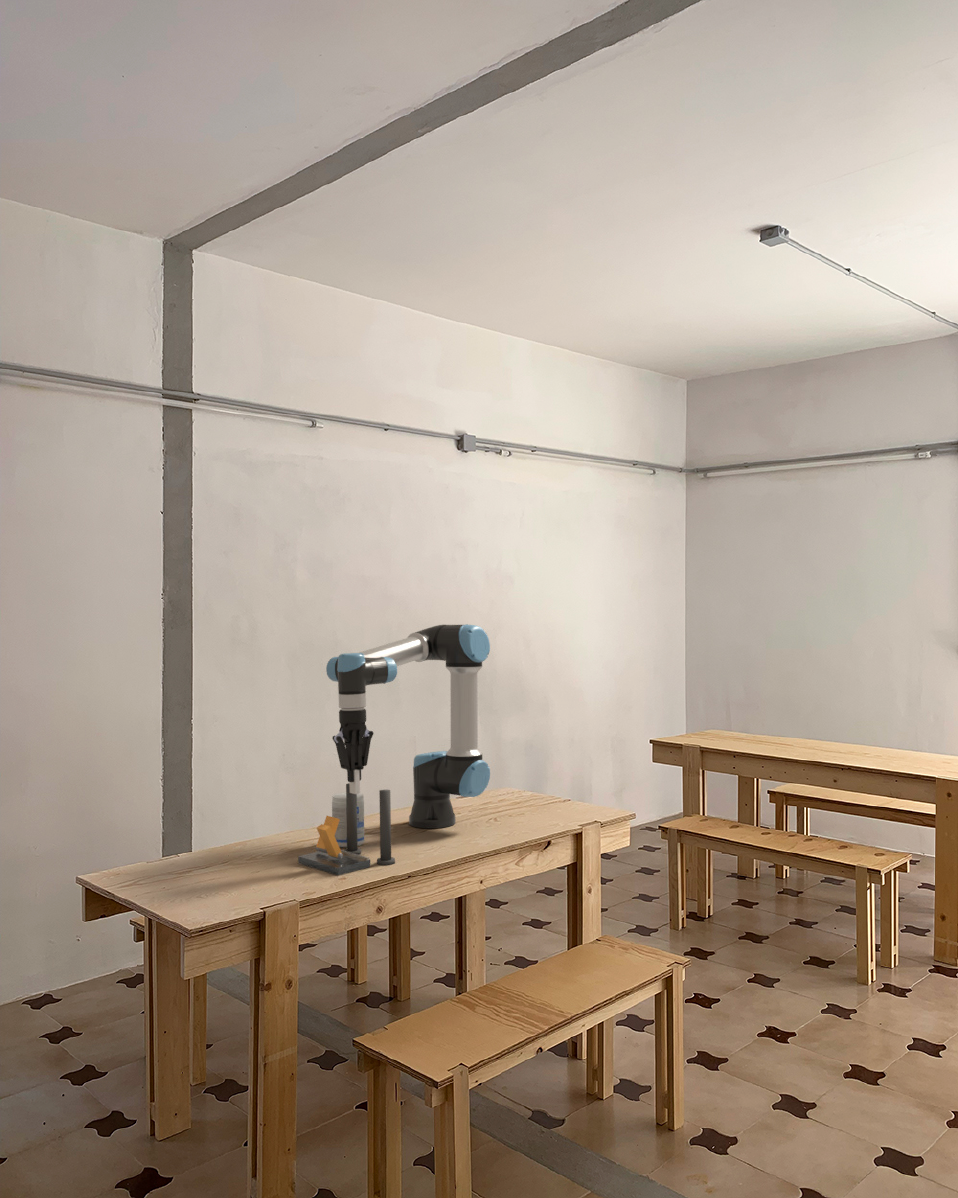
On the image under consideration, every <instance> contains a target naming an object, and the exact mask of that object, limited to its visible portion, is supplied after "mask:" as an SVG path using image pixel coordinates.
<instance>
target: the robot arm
mask: <svg viewBox="0 0 958 1198" xmlns="http://www.w3.org/2000/svg"><path fill="white" fill-rule="evenodd" d="M490 651H491V644H490V639H489V636H488V634H487V633H486V632H485V630H484V629H483V627H481V626H479V625H475V624H468V623H467V624H438V625H434V626H431V627H430V626H429V627H428V628H424V629H422V630H418V631H416V632H411V633H410V634H409V635H408V636H407V637H406V638H402V639H400V640H396V641H393V642H390V643H386V644H384V645H379V646H375V647H373V648H369V649H366V650H363V651H360V652H349V653H347V652H346V653H340V654H339V655H338V656H333V657H332V658H330V659H329V660H328V661H327V663H326V671H325V672H326V675H327V677H328V679H329V680H331V681H332V682H336V683H337V682H338V683H337V686H338V688H337V689H338V707H339V711H338V722H339V724H340V727H339V732H338V733H337V734H336V735H333V736H332V741H333V743H334V744H335V747H336V752H337V755H338V759H339V764H340V765H339V766H340V768H341V769H343V770H346V772H347V773H346V774H347V775H346V776H347V777H346V778H347V779H346V780H347V782H348V783H349V784H350V793H353V794H359V793H360V794H361V787H360V785H361V783H360V782H361V780H362V770H364V767H366V766H367V765H368V759H369V754H370V749H371V740H372V738H373V736H374V735H375V733H374V731H372V730H369V729H368V728H367V725H366V722H367V709H366V706H367V697H366V694H367V693H366V692H367V691H366V689H367V688H366V686H371V685H380V684H381V685H385V684H387V683H391V682H393V681H394V680H395V679H396V677H397V676H398V667H399V666H402V665H405V664H408V663H411V662H416V663H417V662H418V663H421V662H425V661H442V662H443V661H445V669H446V670H448V671H449V673H450V748H449V749H448V751H447V750H443V751H442V750H441V751H432V752H431V751H430V752H423V753H420V754H417V755H415V757H413V767H412V770H413V773H412V774H413V804H412V807H411V811H410V814H409V816H408V824H409V826H410V827H413V828H418V829H441V828H447V827H452V826H453V825H455V824H456V823H457V822H456V814H455V813H454V812H455V811H454V808H453V806H452V805H453V804H452V803H451V797H450V795H454V796H458V797H459V796H461V797H464V798H475V797H479V796H481V794H483V793H484V792H485V791H486V789H487V787H488V785H489V782H490V780H491V779H490V778H491V768H490V766H489V764H488V763H487V762H486V761H484V759H483V752H482V751H481V750H480V749H479V748H478V746H479V745H478V741H479V740H478V738H479V737H478V733H479V732H478V731H479V730H478V723H479V722H478V721H479V720H478V673H479V671H480V670H481V669H482V668H483V662H484V661H486V660H487V658H488V656H489V654H490Z"/></svg>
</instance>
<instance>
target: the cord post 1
mask: <svg viewBox="0 0 958 1198" xmlns="http://www.w3.org/2000/svg"><path fill="white" fill-rule="evenodd" d="M345 793H346V815H347V847H346V848H345V849H343V851H347V852H351V853H354V854H358V855H361V854H362V849H361V848H359V846H357V794H353V793H350V784H349V782H348V783H346V785H345Z"/></svg>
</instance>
